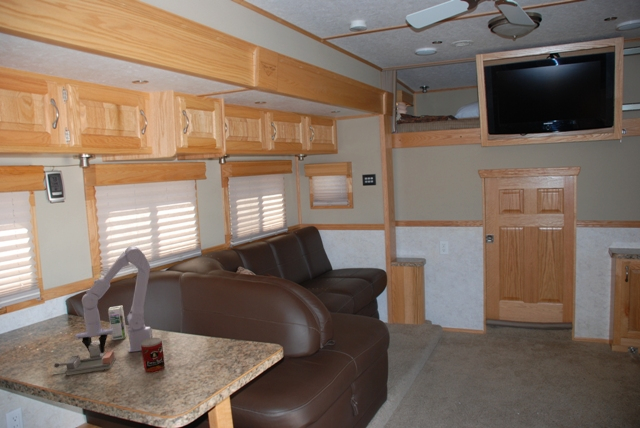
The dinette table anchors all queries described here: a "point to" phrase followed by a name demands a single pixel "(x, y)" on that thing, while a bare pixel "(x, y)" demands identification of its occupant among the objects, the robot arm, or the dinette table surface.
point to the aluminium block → (95, 349)
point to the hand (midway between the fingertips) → (97, 353)
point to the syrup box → (117, 322)
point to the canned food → (152, 355)
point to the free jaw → (108, 357)
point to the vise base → (84, 365)
